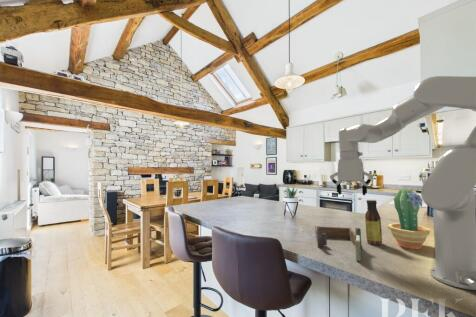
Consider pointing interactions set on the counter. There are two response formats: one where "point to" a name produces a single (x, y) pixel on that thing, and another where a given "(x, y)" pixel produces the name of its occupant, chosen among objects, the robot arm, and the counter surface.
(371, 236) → the sauce bottle
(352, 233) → the pen fence
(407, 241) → the potted cactus
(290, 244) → the counter surface
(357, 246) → the gate
